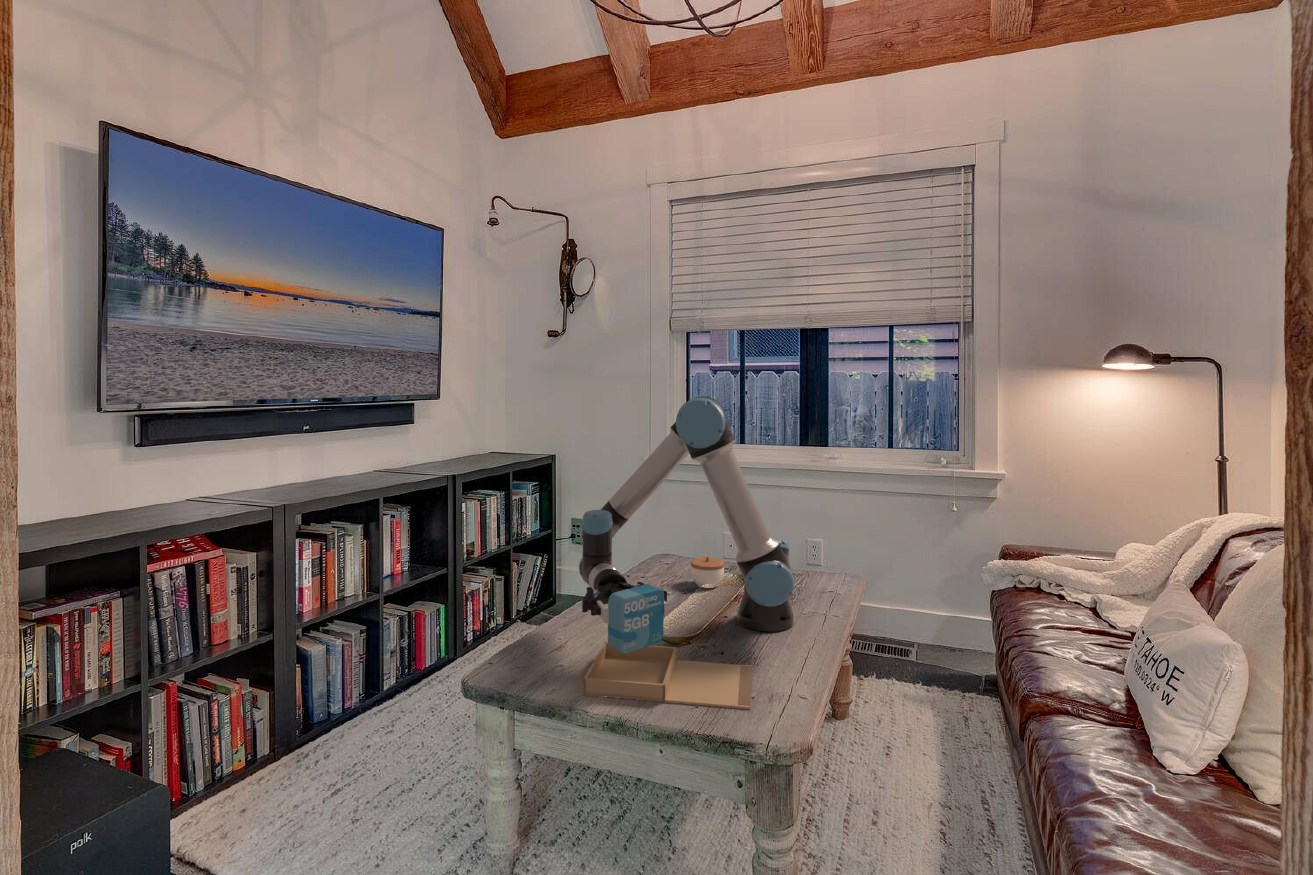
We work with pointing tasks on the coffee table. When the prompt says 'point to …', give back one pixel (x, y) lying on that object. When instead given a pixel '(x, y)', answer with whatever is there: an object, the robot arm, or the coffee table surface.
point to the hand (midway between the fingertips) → (637, 613)
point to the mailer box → (667, 678)
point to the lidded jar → (707, 570)
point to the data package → (635, 618)
